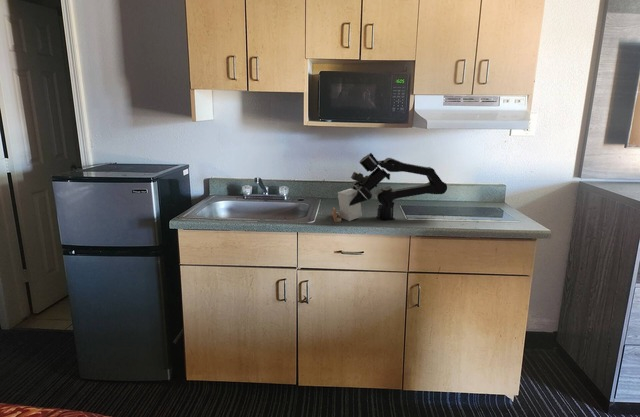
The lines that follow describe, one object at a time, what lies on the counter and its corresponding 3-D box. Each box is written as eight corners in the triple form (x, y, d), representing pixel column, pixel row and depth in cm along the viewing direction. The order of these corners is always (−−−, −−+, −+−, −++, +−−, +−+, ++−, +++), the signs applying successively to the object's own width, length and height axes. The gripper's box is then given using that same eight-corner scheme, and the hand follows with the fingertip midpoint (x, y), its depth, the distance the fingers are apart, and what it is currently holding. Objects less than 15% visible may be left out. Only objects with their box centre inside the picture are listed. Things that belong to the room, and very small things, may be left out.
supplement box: (349, 221, 191) (346, 194, 187) (340, 217, 198) (337, 192, 194) (362, 216, 195) (359, 190, 191) (353, 213, 201) (350, 187, 197)
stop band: (338, 215, 201) (338, 207, 200) (341, 221, 191) (341, 213, 190) (332, 215, 201) (332, 207, 200) (334, 221, 191) (335, 213, 190)
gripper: (358, 163, 200) (334, 186, 201) (366, 168, 182) (339, 193, 183) (373, 180, 202) (349, 202, 204) (383, 187, 184) (356, 211, 186)
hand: (348, 202), depth 194 cm, fingers open, 9 cm apart
